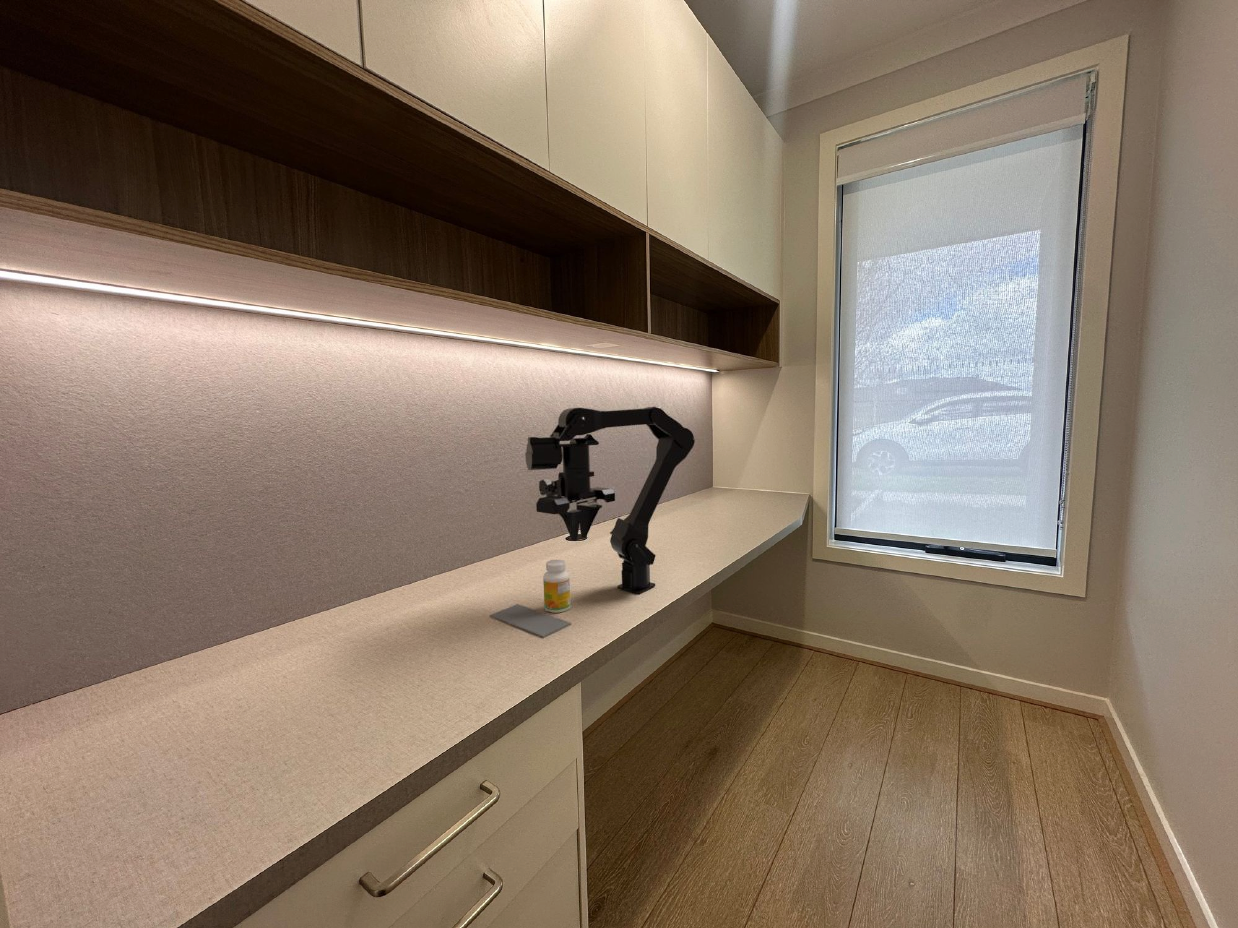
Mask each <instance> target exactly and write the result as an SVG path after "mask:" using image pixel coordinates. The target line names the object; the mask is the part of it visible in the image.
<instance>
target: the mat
mask: <svg viewBox="0 0 1238 928" xmlns="http://www.w3.org/2000/svg"><path fill="white" fill-rule="evenodd" d="M489 617H490V618H493V619H495V620H497V621H500V622H503V623H505V624H508V625H510V626H513V627H515V628H518V629H520V630H523V631H524V632H525V631H526V632H527V633H530V634H533V635H535V636H538V637H540V638H543V639H545V638H546V637H549V636H551V635H552V634H554V633H557V632H558V631H559V632H560V631H561V630H563V629H565V628H567V627H569V626H571V625H572V622H570V621H567V620H564V619H561V618H559V617H555V616H553V615H550V614H548V613H544V612H541V611H538V610H535V609H532V608H530V607H528V606H524V605H522V604H518V603H517V604H514V605H511V606H509V607H507V608H504V609H501V610H499V611H496V612H495V613H491V614H489Z"/></svg>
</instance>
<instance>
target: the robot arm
mask: <svg viewBox="0 0 1238 928" xmlns="http://www.w3.org/2000/svg"><path fill="white" fill-rule="evenodd" d="M644 425H646V426H647V427H648V429H649V430H650V432H651V433H652V435H653V436H654V437H655V438H656V440H658V441H657V444H656V448H655V449H656V452H655V453H656V454H655V456H656V457H655V461H654V463H653V465H652V467H651V469H650V472H649V473H648V474H647V475H648V476H647V478H646V480H645V482H644V484H643V485H642V487H641V490H640V492H639V494H638V496H637V499H636V500H635V503H634V504H633V506H632V509H631V511H630V513H629V514H628V516H626V517H625V518H624V519H622V518H620V517H618V518H617V519H616V522H615V525H614V527H613V528H612V529H611V531H610V532H609V534H610V540H609V542H610V545H611V546H610V547H611V549H613V551H615V552H616V553H617V555H618V558H620V559H621V560H622V563H621V583H620V584H618V585H617V587H616V588H617V589H621V590H624V591H627V592H630V593H635V594H641V593H644V592H646V591H648V590H650V589H652V588H653V587H655V586H656V583H654V582H651V578H650V577H651V576H650V574H651V572H650V570H651V569H650V568H651V567H650V566H652V565H654V563H655V560H656V554H655V552H653V551H651V550H650V549H649V548H648V547H647V543H648V539H649V525H650V522H651V520H652V517H653V516H654V513H655V511H656V509H657V507H658V505H659V503H660V500H661V498H662V496H663V494H664V492H665V491H666V490H665V489H666V487H667V486H668V484H669V481H670V479H671V477H672V475H673V472H674V471H675V469H676V468H677V467H678V466H679V465H680V464H681V463H682V462H683V461H684V460H685V459H687V457H688V455H689V454H690V452H691V451H692V449H693V448H694V446H695V443H696V439H695V436H694V433H693V432H692V431H691V430H690V429H689V428H687V427H684V426H683V425H682V424H681V423H679V422H678V421H677V420H675V419H674V418H673V417H672V416H671V415H668V414H667V412H665V411H664V410H663V409H662V408H661V407H659V406H647V407H644V408H632V409H618V410H617V409H615V410H601V409H600V410H599V409H595V408H594V409H593V408H586V407H571V408H566V409H564V410H562V411H561V413H560V414H559V417H558V419H557V425H556V426H555V428H554V430H553V431H551V432H552V433H551V434H550V436H548V437H538V436H528V437H527V444H526V449H525V450H526V451H525V452H524V453H525V454H524V455H525V456H524V457H525V464H526V468H527V470H528V471H542V470H555V469H557V468H558V466H559V465H561V464H562V471H560V472H558V475H557V476H558V479H557V480H553V481H551V479H550V478H545V479H542V480H539V481H538V490H539V493H540V495H541V496H542V497H538V499H537V500H536V503H535V504H536V505H535V506H536V507H535V509H536V512H537V513H543V514H548V515H549V514H550V515H559V516H560V517H561V518H562V520H563V522H564V524H565V526H566V527H565V528H566V530H567V531H568V534H569V536H570V540H571V542H577V541H578V537H579V536H578V535H579V532H580V536H581V537H580V538H582V539H586V538H587V536H588V535H589V532H590V529H591V527H592V525H593V523H594V521H595V518H596V517H597V515H598V513H599V511H600V509H602V508H603V505H602V504H599V503H598V500H603V501H604V502H605V503H612V502H615V501H616V494H615V491H614V490H613V488H611V487H610V488H609V487H601V486H595V487H592V488H591V477H595V471H591V465H590V463H591V461H590V460H591V459H590V458H591V457H590V446H598V445H600V441H597V439H595V437H594V436H593V435H592V433H595V432H598V431H600V430H603V429H604V430H605V429H606V428H617V427H618V428H619V427H629V426H644ZM584 435H585V436H584ZM577 436H584V437H577ZM561 442H565V443H561ZM567 442H568V443H567Z"/></svg>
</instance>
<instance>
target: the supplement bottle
mask: <svg viewBox="0 0 1238 928" xmlns="http://www.w3.org/2000/svg"><path fill="white" fill-rule="evenodd" d="M566 564H567V563H566V561H565V560H563V559H550V560H548V561H546V562H545V568H546V569H545V570H546V572H545V573H544V574H543V576H542V577H543V602H544V603H543V604H544V610H545V611H546V612H547V613H551V614H552V613H553V614H554V613H555V614H556V613H557V614H558V613H559V614H560V613H563V612H566V611H568V610H570V608H571V582H570V581H571V580H570V578H571V577H570V573H569V572H568V571H567V570H566V568H567V565H566Z"/></svg>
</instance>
